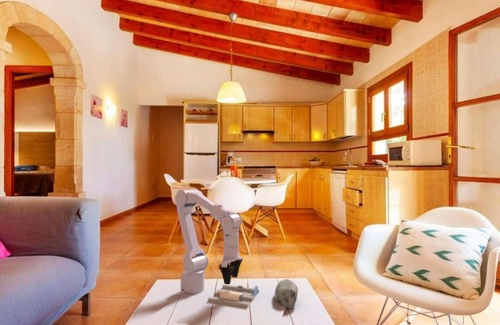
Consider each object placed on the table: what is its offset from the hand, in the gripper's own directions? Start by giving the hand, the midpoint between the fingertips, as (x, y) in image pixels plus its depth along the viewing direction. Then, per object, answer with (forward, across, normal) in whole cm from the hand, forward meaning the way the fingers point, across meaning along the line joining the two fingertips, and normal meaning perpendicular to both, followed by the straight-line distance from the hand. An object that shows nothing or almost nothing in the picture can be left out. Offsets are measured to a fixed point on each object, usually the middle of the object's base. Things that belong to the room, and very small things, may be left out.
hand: (230, 280), depth 116 cm
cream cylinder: (+8, 0, 0) cm, 8 cm away
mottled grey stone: (+10, +9, -20) cm, 24 cm away
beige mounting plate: (+9, +4, 0) cm, 10 cm away
